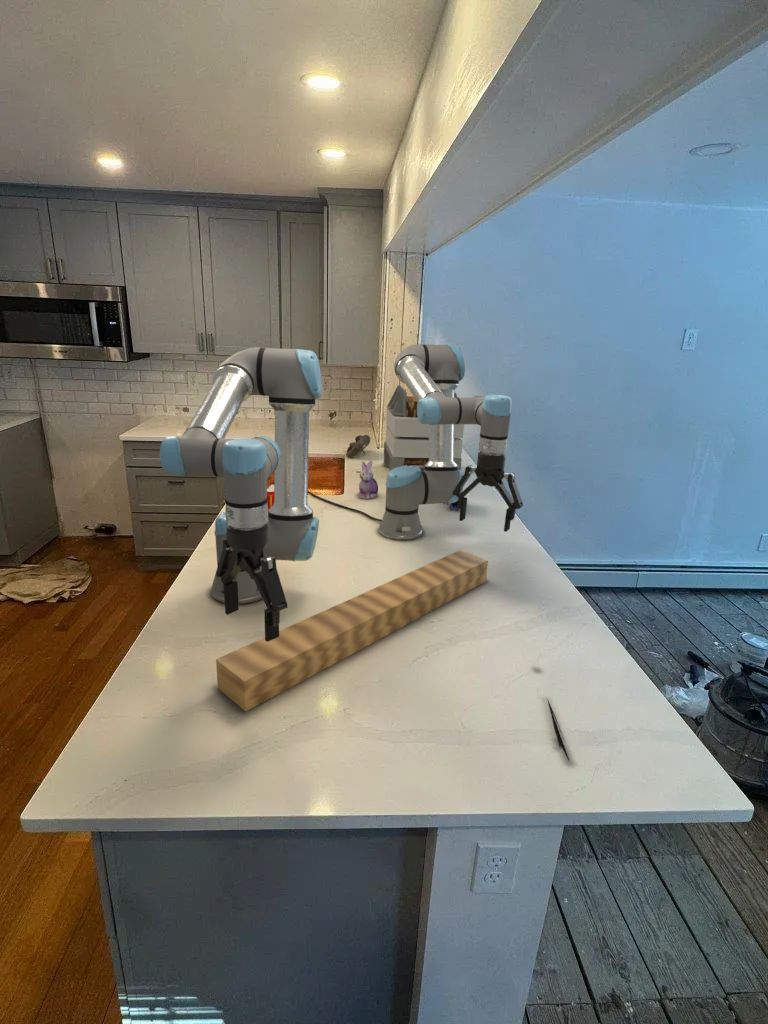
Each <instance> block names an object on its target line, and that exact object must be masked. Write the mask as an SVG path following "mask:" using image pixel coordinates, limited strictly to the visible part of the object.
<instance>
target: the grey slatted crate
mask: <svg viewBox="0 0 768 1024" xmlns="http://www.w3.org/2000/svg"><path fill="white" fill-rule="evenodd" d="M407 394H408V393H407V390H406V389H404V388H403V387H402V385H399V384H398V385H397V386H396V388H395V390H394V392H393V394H392V395H391V398H390V400H389V402H388V404H387V405H386V413H385V414H386V415H385V423H386V428H385V438H384V442H383V466H384V467H388V468H389V471H390V470H392V469H394V468H397V467H401V466H416V467H424V465H425V464H426V463H427V462H428V461H429V424H422V423H420V422H419V420H418V416H417V404H418V402H417V401H416V399H415V398H414V396H413V395H412V396H411V395H407ZM454 397H458V395H457V392H455V391H454ZM464 429H465V424H454V450H453V461H454V462H455V463H456V464H457V465H458V470H460V471H461V472H462V461H463V460H462V453H463V442H464V441H463V440H462V439H463V438H464V431H465V430H464Z"/></svg>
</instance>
